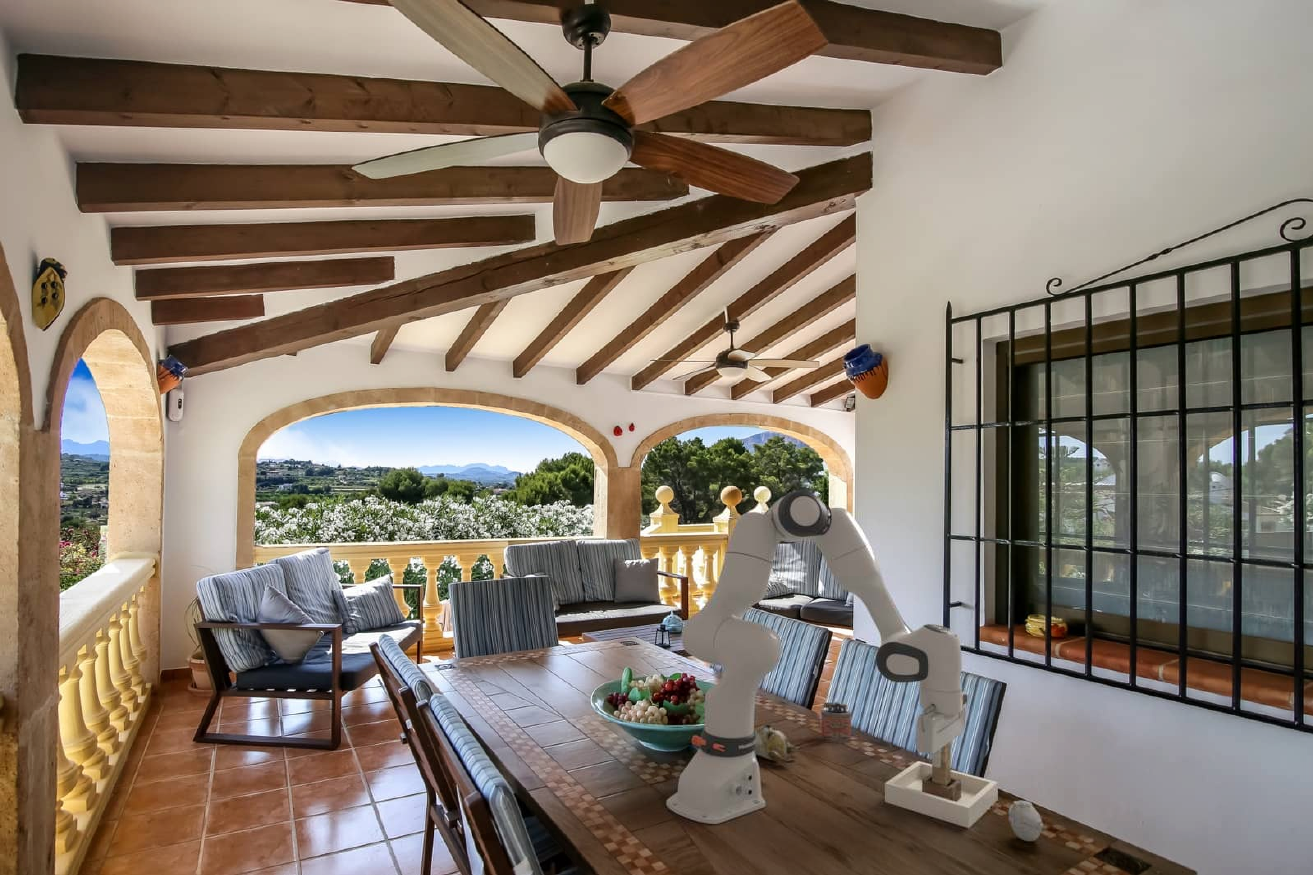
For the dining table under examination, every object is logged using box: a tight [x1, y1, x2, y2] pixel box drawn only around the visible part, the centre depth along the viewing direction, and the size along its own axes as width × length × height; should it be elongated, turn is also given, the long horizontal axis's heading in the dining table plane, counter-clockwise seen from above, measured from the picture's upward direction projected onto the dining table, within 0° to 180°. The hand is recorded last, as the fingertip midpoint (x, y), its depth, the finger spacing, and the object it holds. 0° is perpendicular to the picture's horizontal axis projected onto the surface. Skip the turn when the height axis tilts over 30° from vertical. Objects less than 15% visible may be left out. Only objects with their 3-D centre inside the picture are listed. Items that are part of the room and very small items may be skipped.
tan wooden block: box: [932, 742, 952, 786], centre depth 166 cm, size 3×3×10 cm
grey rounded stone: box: [1008, 800, 1044, 842], centre depth 148 cm, size 6×7×7 cm
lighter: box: [820, 701, 852, 743], centre depth 203 cm, size 8×3×10 cm, turn 84°
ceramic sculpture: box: [754, 724, 804, 765], centre depth 189 cm, size 11×9×15 cm
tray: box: [884, 760, 999, 829], centre depth 165 cm, size 18×18×4 cm
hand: (941, 763), depth 166 cm, fingers closed on tan wooden block, 3 cm apart
